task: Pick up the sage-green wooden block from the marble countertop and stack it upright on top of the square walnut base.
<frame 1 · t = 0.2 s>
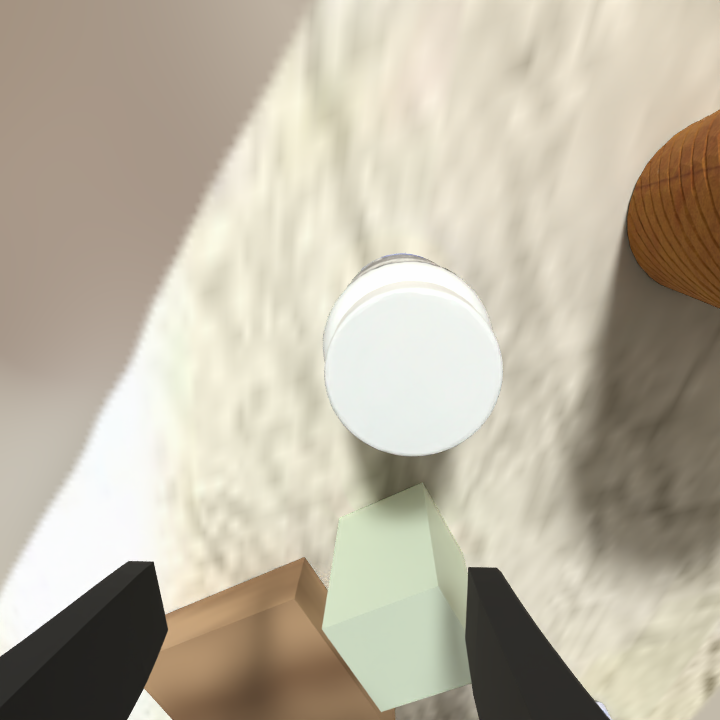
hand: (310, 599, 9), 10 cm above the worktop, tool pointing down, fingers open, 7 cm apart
walnut base: (273, 654, 23), on the worktop
disposable coffee cup: (710, 208, 15), on the worktop
pill bottle: (399, 310, 17), on the worktop
sage block: (401, 535, 20), on the worktop
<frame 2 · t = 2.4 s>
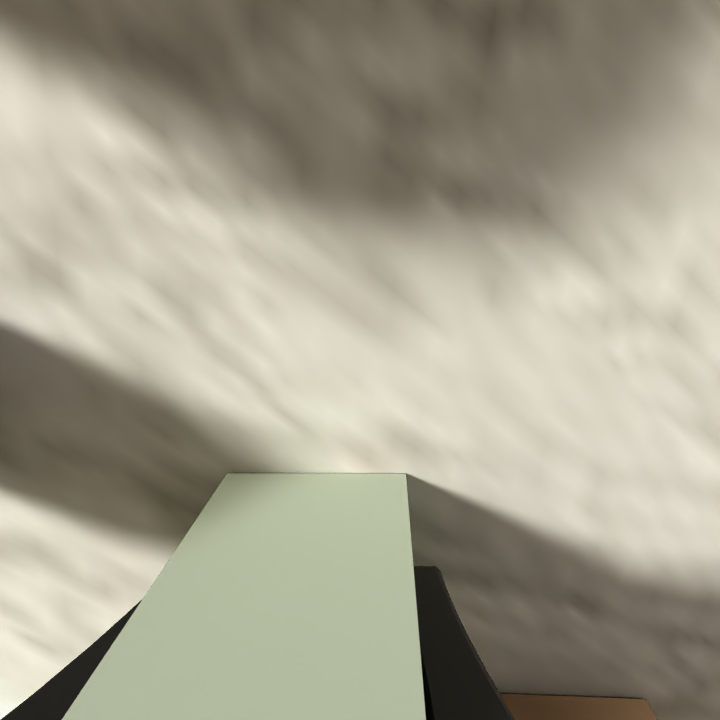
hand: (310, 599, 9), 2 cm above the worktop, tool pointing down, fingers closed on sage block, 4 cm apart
sage block: (320, 548, 11), on the worktop, touching gripper
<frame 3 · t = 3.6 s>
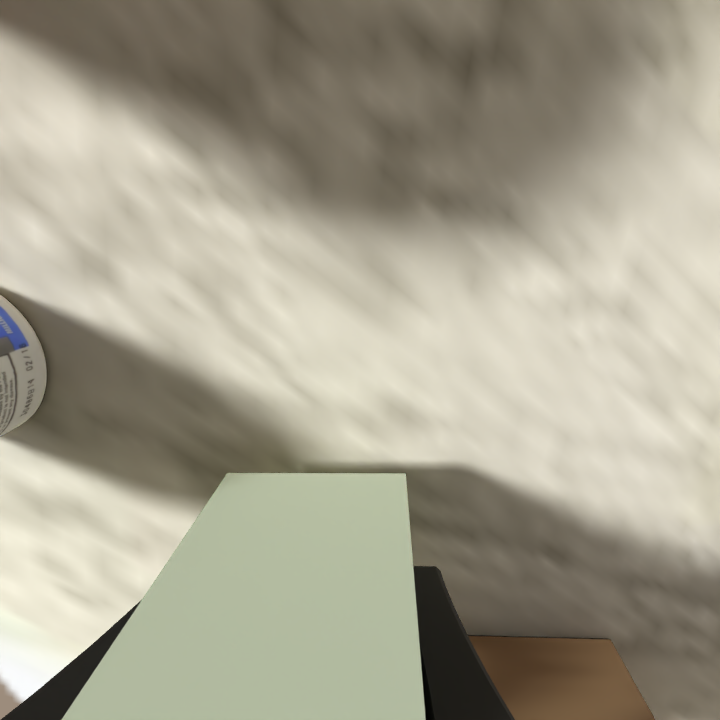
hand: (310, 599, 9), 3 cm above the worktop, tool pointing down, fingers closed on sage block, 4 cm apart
sage block: (320, 547, 11), point 2 cm above the worktop, touching gripper
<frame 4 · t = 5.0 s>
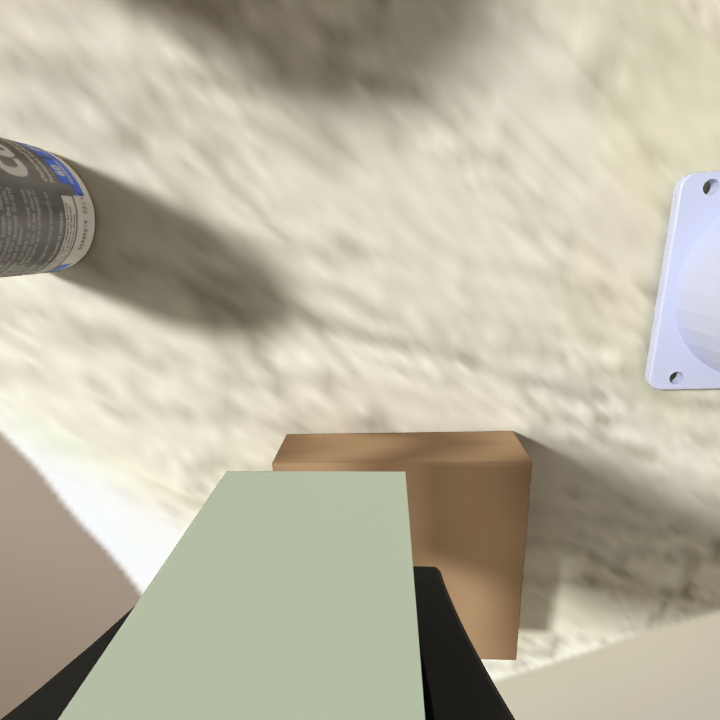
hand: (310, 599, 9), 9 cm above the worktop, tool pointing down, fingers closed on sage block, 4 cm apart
walnut base: (399, 527, 20), on the worktop
pill bottle: (45, 211, 17), on the worktop
sage block: (320, 546, 11), point 8 cm above the worktop, touching gripper
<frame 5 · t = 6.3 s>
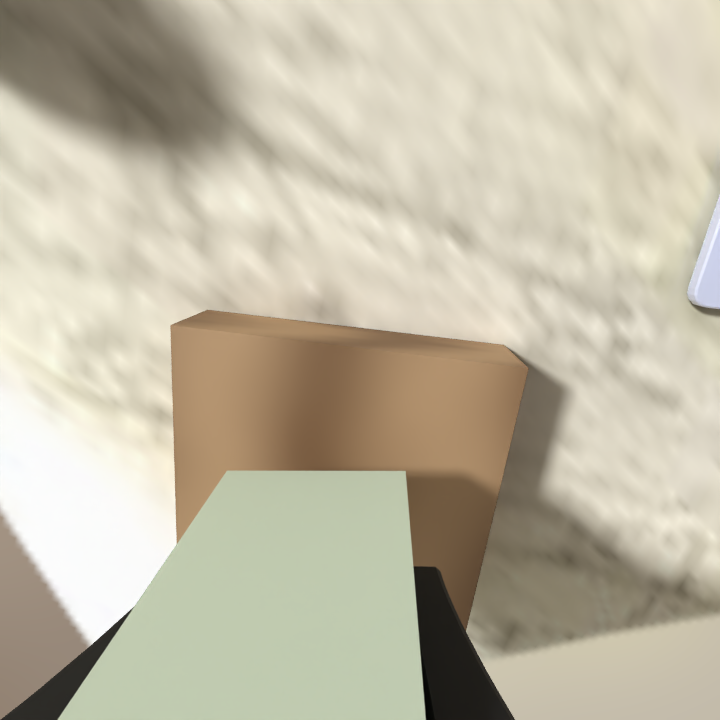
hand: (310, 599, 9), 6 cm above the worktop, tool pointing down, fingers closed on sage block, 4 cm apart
walnut base: (340, 458, 15), on the worktop
sage block: (320, 545, 11), point 5 cm above the worktop, touching gripper
when the fingers open (5 cm above the worktop, at t = 7.5 s): sage block stays where it is, resting on walnut base.
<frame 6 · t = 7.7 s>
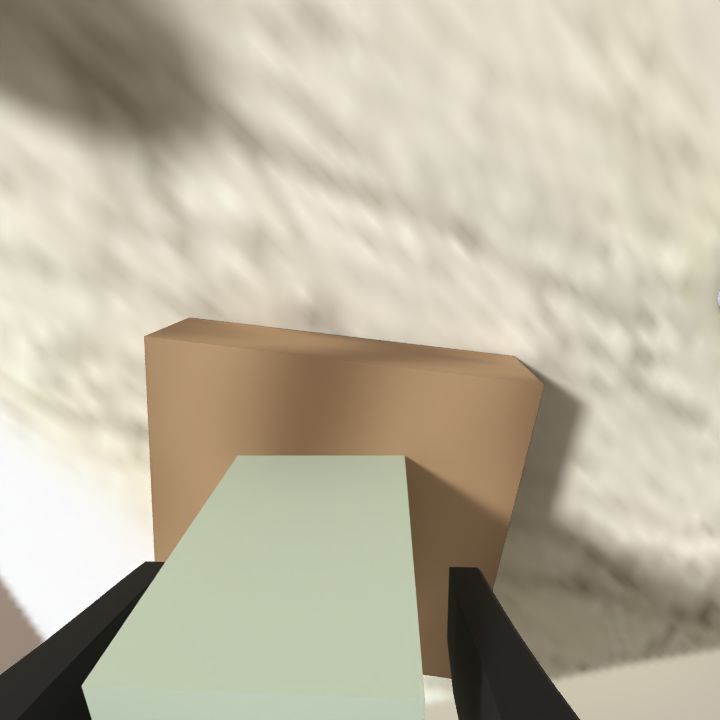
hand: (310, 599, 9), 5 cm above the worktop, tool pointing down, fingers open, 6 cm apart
walnut base: (335, 478, 14), on the worktop
sage block: (324, 526, 12), point 2 cm above the worktop, touching walnut base
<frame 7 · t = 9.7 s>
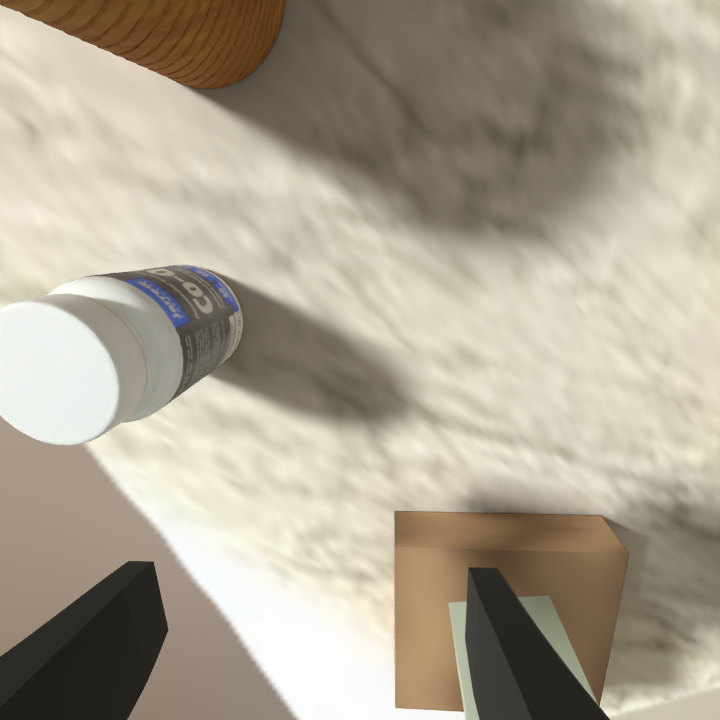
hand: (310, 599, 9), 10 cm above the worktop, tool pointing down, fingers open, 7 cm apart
walnut base: (489, 593, 22), on the worktop
pill bottle: (195, 316, 19), on the worktop
sage block: (501, 636, 20), point 2 cm above the worktop, touching walnut base
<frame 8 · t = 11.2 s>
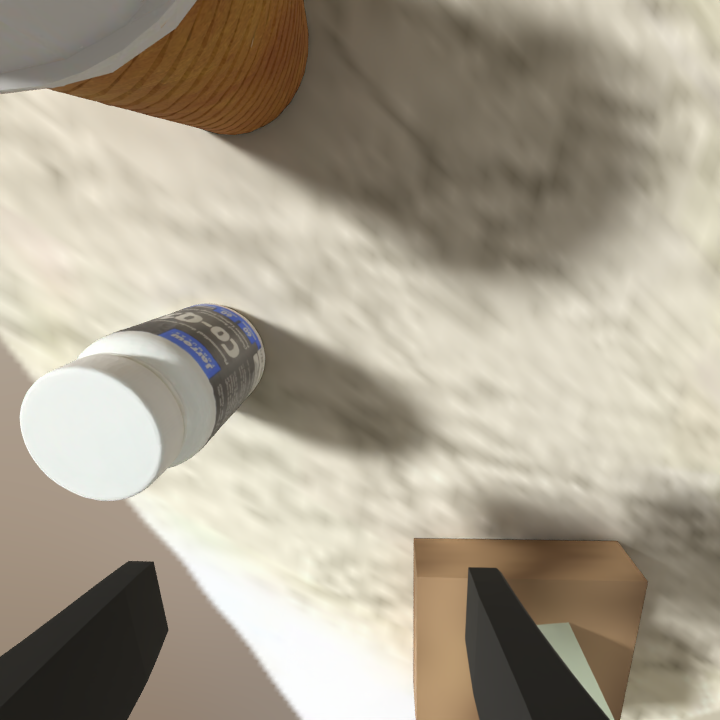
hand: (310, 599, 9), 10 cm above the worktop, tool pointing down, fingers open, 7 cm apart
walnut base: (507, 617, 22), on the worktop
disposable coffee cup: (226, 43, 16), on the worktop
pill bottle: (217, 351, 19), on the worktop
sage block: (521, 662, 20), point 2 cm above the worktop, touching walnut base
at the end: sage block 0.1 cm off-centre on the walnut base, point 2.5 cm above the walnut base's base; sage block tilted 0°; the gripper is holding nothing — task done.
